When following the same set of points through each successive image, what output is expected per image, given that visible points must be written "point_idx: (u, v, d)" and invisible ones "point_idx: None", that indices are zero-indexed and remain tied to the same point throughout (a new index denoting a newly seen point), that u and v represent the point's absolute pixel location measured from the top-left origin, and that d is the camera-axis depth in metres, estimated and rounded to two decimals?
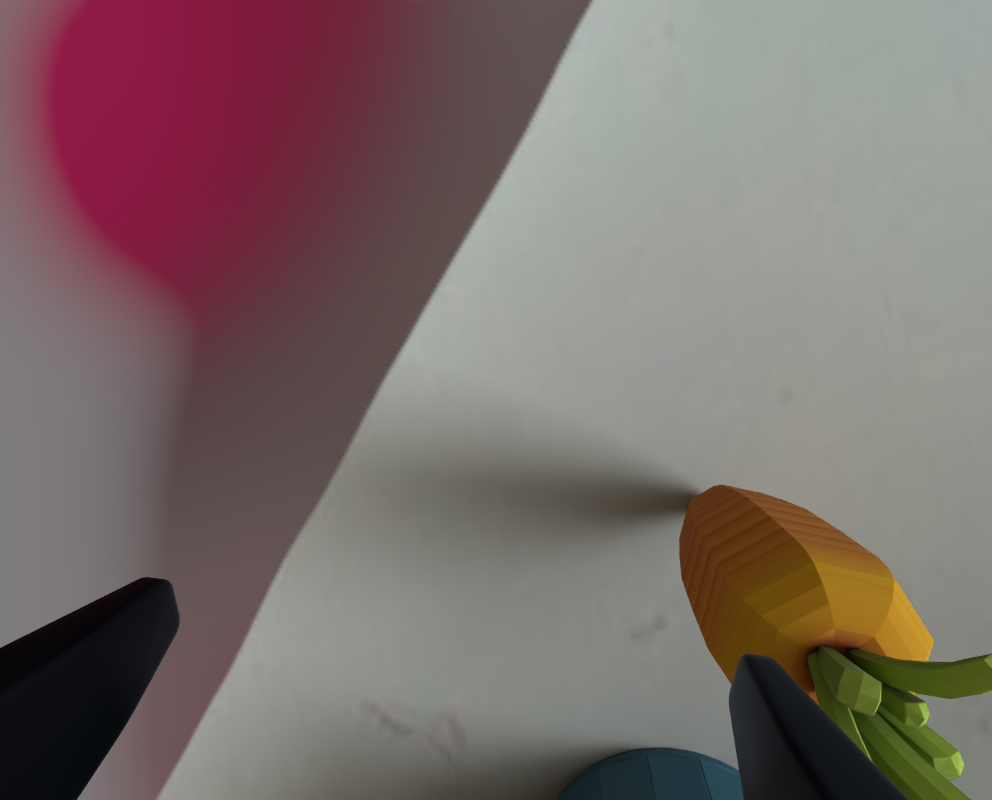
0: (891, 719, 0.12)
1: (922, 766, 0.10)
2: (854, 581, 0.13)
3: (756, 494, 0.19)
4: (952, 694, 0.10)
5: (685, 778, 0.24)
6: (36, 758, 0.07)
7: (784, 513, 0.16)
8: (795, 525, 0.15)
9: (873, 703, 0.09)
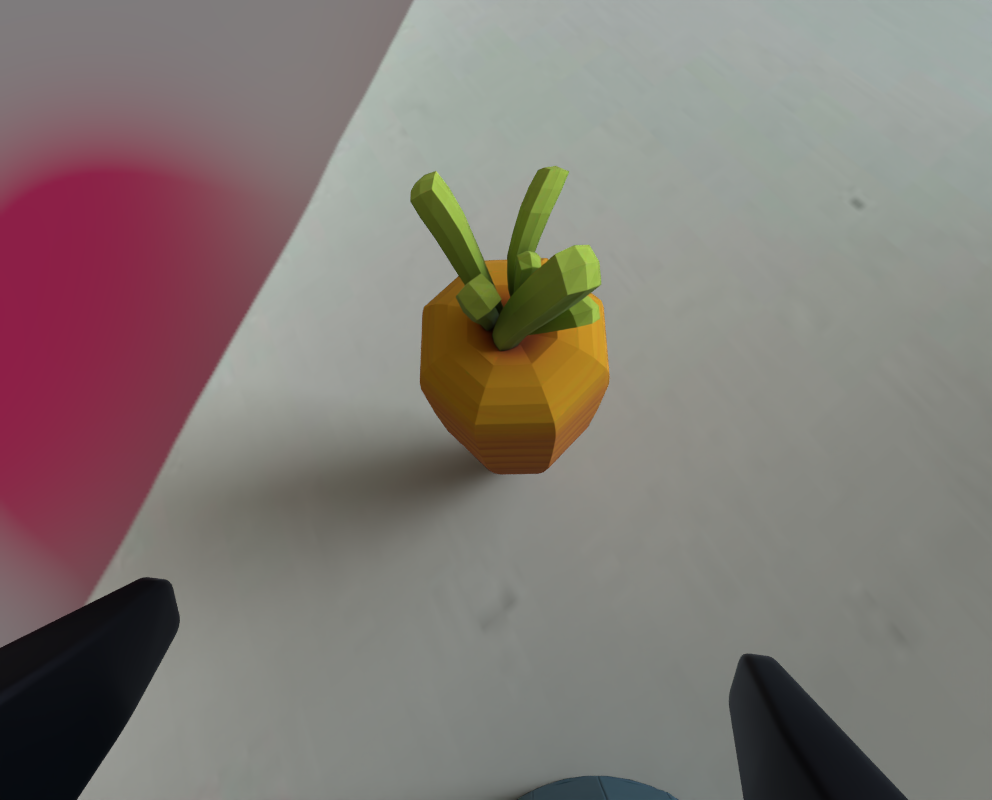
0: None
1: None
2: None
3: None
4: (531, 209, 0.11)
5: (576, 791, 0.18)
6: (36, 758, 0.07)
7: None
8: None
9: (432, 184, 0.10)
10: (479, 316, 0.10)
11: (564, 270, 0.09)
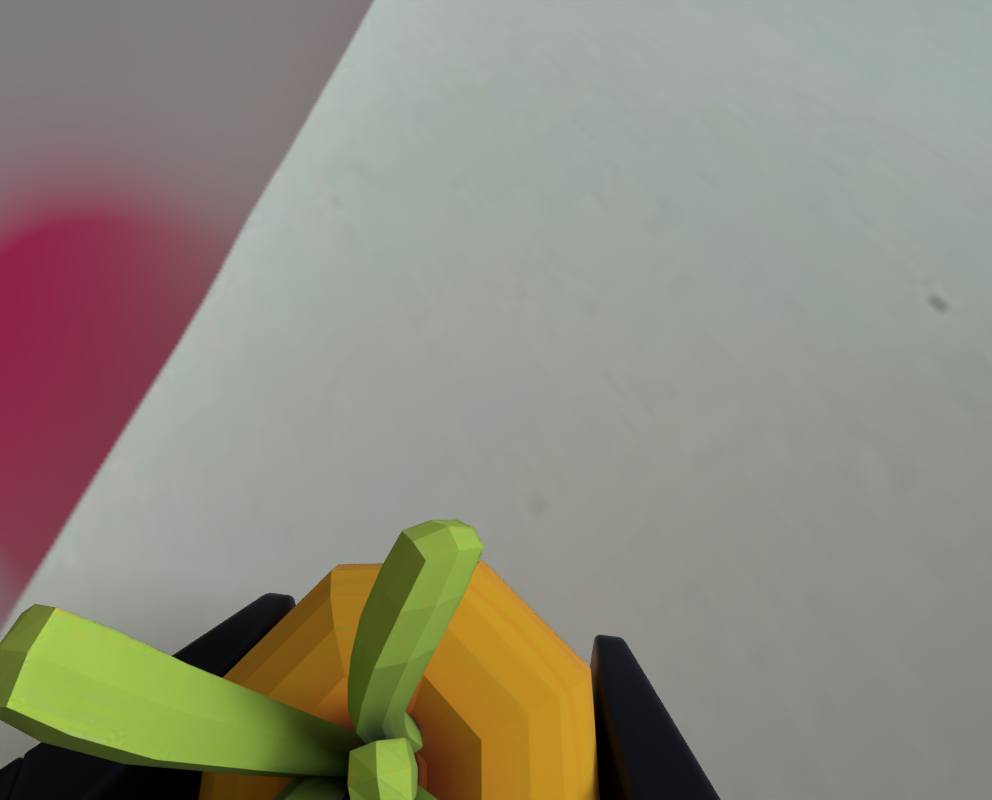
0: None
1: None
2: None
3: None
4: (378, 656, 0.04)
5: None
6: (193, 783, 0.07)
7: None
8: None
9: (25, 672, 0.03)
10: None
11: None
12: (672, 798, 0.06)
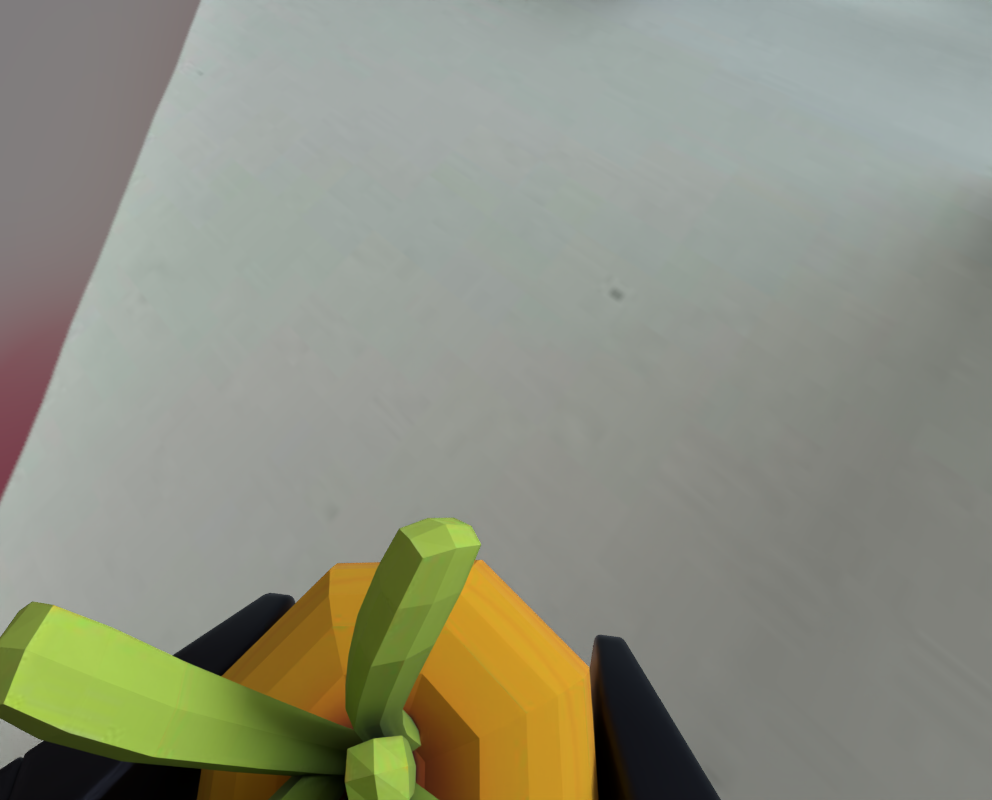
0: None
1: None
2: None
3: None
4: (375, 653, 0.04)
5: None
6: (193, 784, 0.07)
7: None
8: None
9: (22, 669, 0.03)
10: None
11: None
12: (672, 798, 0.06)
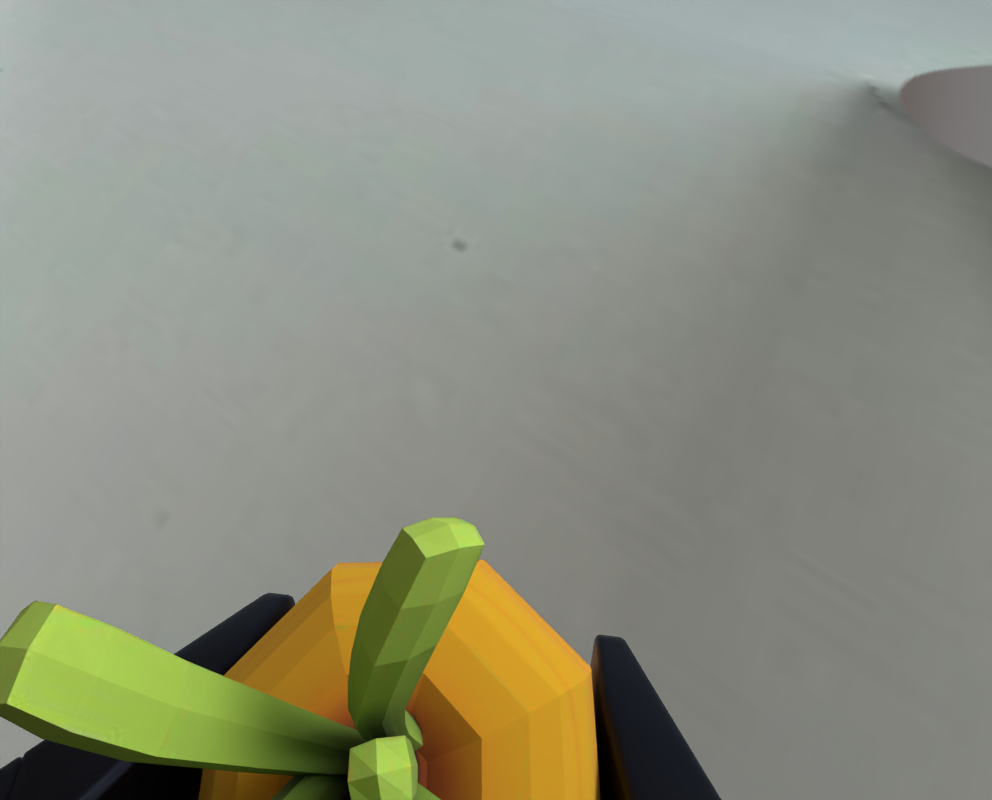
0: None
1: None
2: None
3: None
4: (378, 653, 0.04)
5: None
6: (192, 783, 0.07)
7: None
8: None
9: (25, 668, 0.03)
10: None
11: None
12: (672, 798, 0.06)
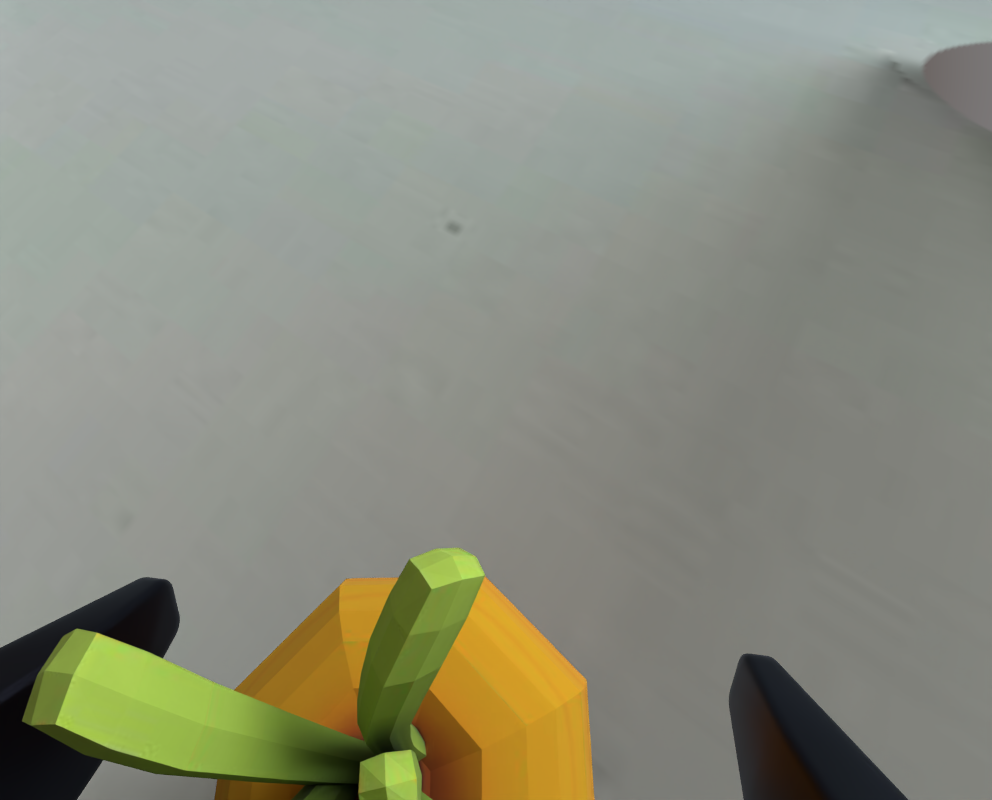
0: None
1: None
2: None
3: None
4: (386, 675, 0.04)
5: None
6: (36, 758, 0.07)
7: None
8: None
9: (70, 692, 0.04)
10: None
11: None
12: None
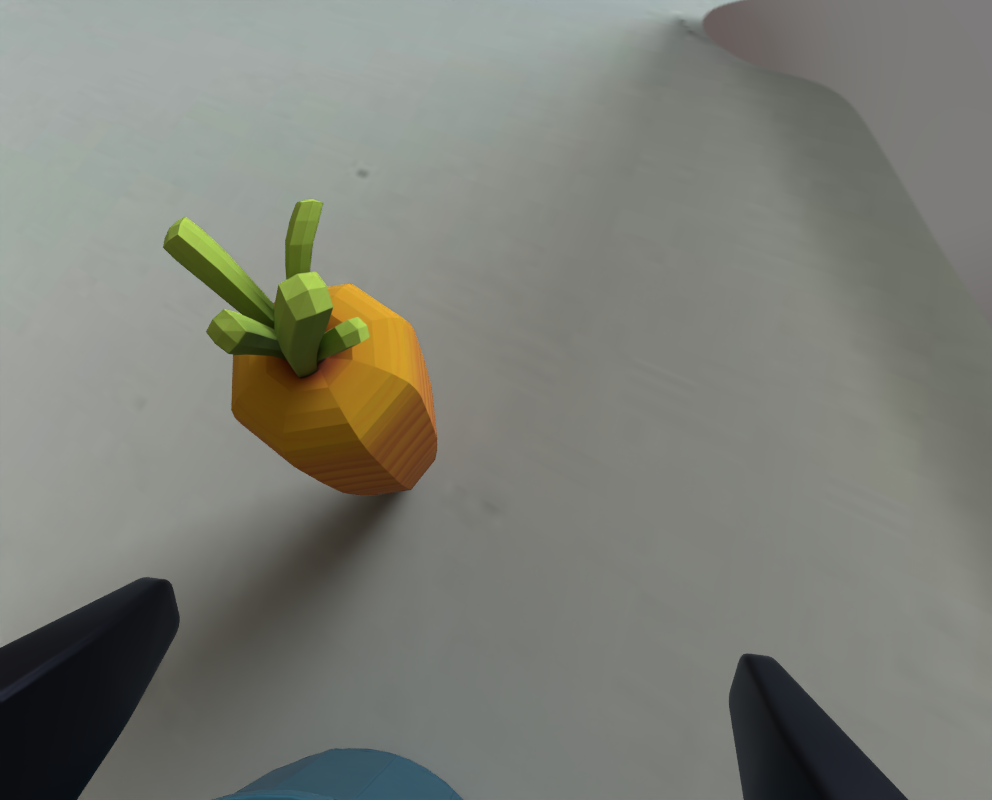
0: None
1: None
2: None
3: None
4: (291, 242, 0.12)
5: None
6: (36, 758, 0.07)
7: None
8: None
9: (180, 229, 0.11)
10: (228, 350, 0.10)
11: (287, 298, 0.10)
12: None
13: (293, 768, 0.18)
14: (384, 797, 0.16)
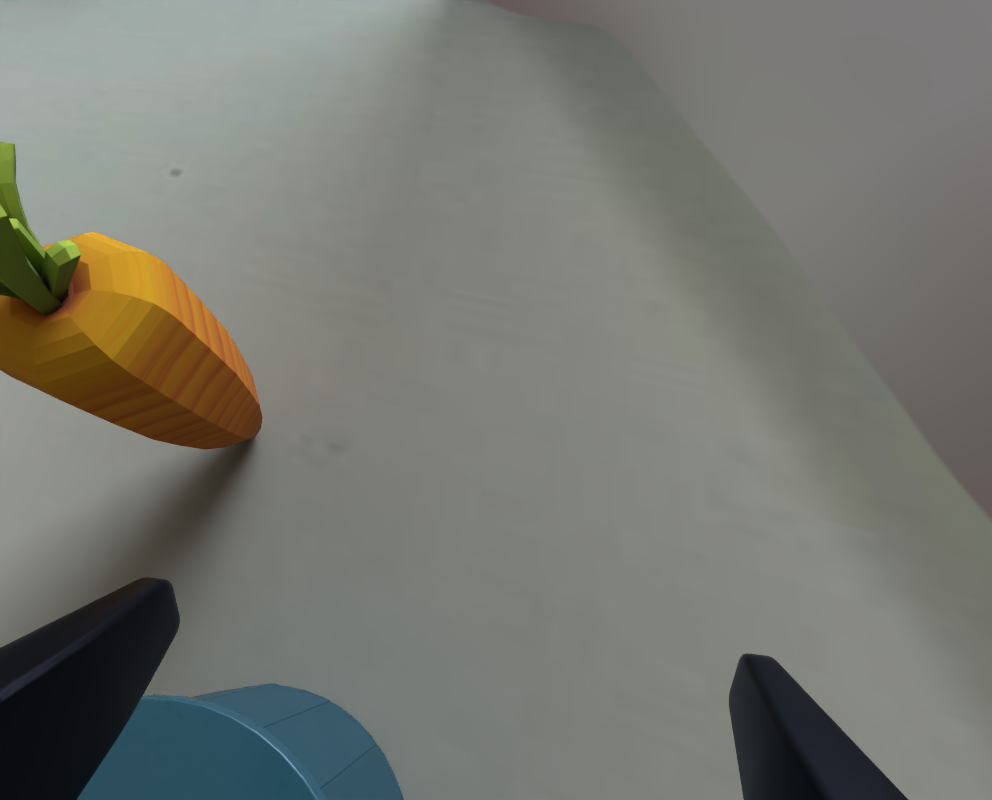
0: (43, 265, 0.13)
1: None
2: None
3: None
4: None
5: None
6: (36, 758, 0.07)
7: None
8: None
9: None
10: None
11: None
12: None
13: None
14: (235, 701, 0.17)
